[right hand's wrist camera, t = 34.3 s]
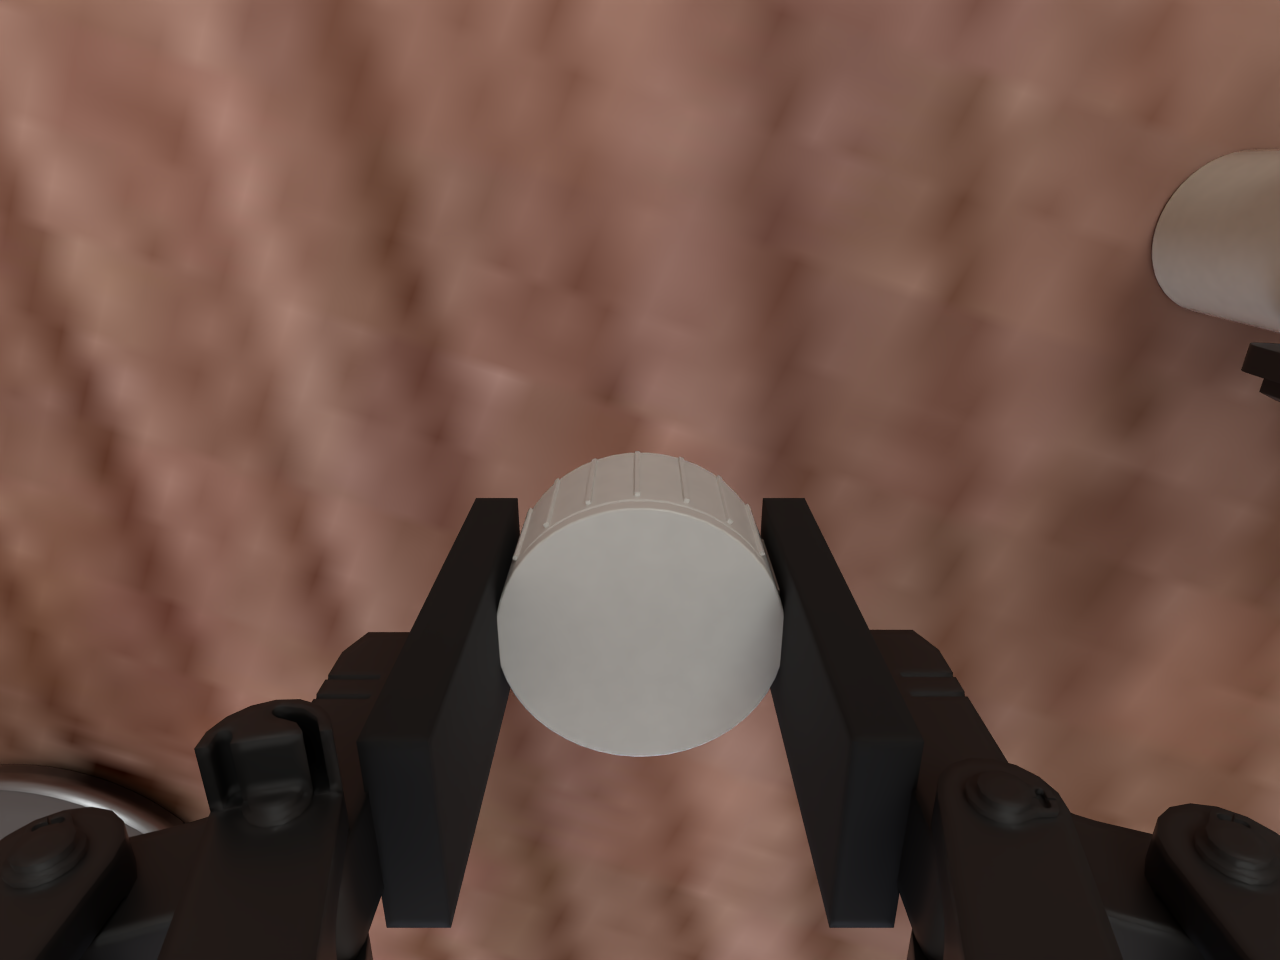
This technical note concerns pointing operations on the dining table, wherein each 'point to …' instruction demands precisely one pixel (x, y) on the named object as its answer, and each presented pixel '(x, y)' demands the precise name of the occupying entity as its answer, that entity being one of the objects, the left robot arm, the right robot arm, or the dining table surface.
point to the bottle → (1224, 240)
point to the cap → (640, 607)
